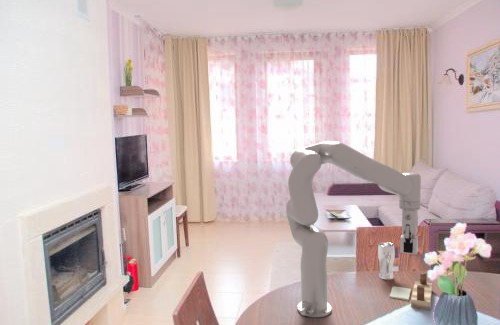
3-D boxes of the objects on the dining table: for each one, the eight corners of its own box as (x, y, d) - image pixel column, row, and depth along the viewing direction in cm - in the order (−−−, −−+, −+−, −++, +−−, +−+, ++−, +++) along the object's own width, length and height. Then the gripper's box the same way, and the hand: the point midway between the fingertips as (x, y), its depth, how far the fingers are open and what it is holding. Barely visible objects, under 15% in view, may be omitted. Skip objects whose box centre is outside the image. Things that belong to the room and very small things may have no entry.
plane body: (429, 310, 142) (430, 289, 141) (411, 306, 145) (411, 286, 144) (432, 290, 158) (432, 271, 157) (414, 287, 161) (415, 269, 160)
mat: (408, 300, 150) (408, 299, 150) (389, 297, 153) (389, 296, 153) (410, 290, 159) (410, 288, 158) (392, 287, 162) (392, 286, 162)
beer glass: (378, 279, 170) (378, 246, 169) (377, 273, 177) (377, 241, 175) (395, 281, 168) (395, 247, 167) (394, 274, 175) (394, 242, 173)
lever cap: (416, 254, 149) (417, 237, 148) (400, 252, 151) (400, 235, 151) (417, 251, 152) (418, 234, 152) (401, 249, 155) (401, 232, 155)
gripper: (418, 209, 141) (417, 258, 143) (422, 201, 156) (421, 245, 157) (396, 208, 144) (395, 255, 146) (402, 199, 159) (401, 243, 161)
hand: (408, 249), depth 152 cm, fingers closed on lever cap, 4 cm apart
